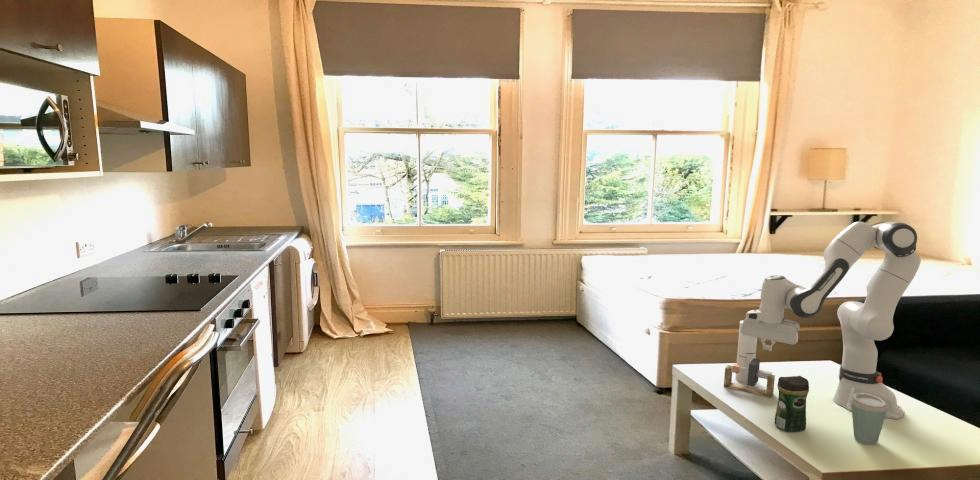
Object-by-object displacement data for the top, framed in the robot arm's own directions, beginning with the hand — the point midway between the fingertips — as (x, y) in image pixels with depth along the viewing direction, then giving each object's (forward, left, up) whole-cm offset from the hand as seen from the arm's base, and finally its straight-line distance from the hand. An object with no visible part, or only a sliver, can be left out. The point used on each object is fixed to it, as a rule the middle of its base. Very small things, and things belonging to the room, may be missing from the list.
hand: (767, 350), depth 226 cm
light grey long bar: (+6, 0, -12) cm, 13 cm away
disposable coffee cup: (-35, +21, -19) cm, 45 cm away
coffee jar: (-13, +26, -19) cm, 34 cm away
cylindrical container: (+10, -12, -19) cm, 24 cm away
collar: (+4, 0, -15) cm, 15 cm away
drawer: (+6, 0, -18) cm, 19 cm away
